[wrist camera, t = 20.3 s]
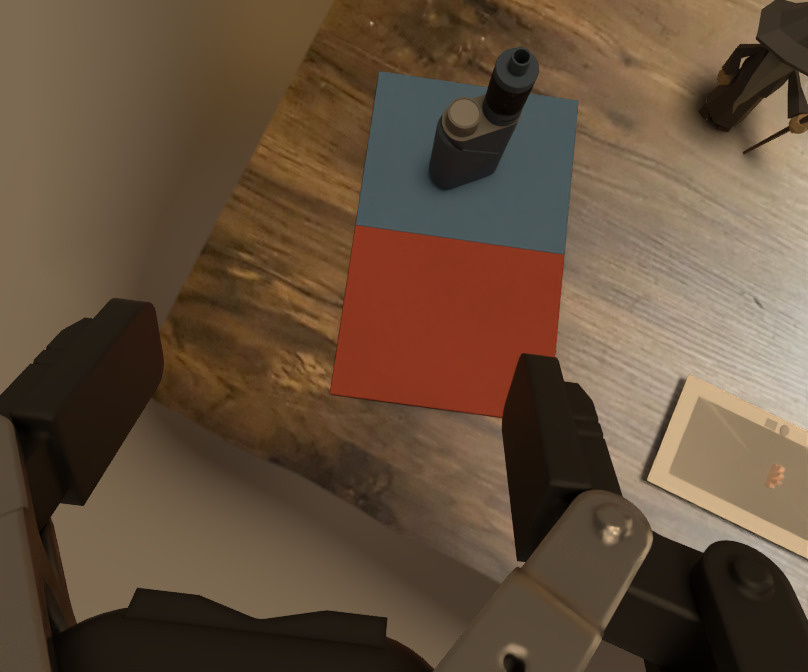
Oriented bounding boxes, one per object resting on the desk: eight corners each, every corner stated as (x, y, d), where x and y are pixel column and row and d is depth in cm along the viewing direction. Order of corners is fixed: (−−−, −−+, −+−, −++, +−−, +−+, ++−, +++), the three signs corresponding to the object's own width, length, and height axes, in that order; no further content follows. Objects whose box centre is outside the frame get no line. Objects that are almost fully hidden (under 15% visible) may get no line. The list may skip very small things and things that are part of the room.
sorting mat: (330, 394, 38) (329, 393, 38) (378, 74, 42) (379, 70, 42) (546, 423, 39) (549, 423, 38) (576, 104, 42) (578, 100, 42)
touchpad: (841, 577, 38) (869, 586, 36) (639, 478, 38) (654, 482, 36) (877, 470, 39) (906, 472, 37) (680, 375, 40) (697, 372, 37)
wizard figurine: (667, 116, 43) (779, -2, 31) (706, 63, 43) (829, -72, 32) (758, 180, 42) (907, 85, 30) (796, 125, 43) (955, 13, 31)
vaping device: (503, 173, 41) (553, 71, 29) (435, 196, 40) (459, 102, 28) (489, 141, 41) (534, 27, 29) (422, 164, 41) (440, 57, 29)
